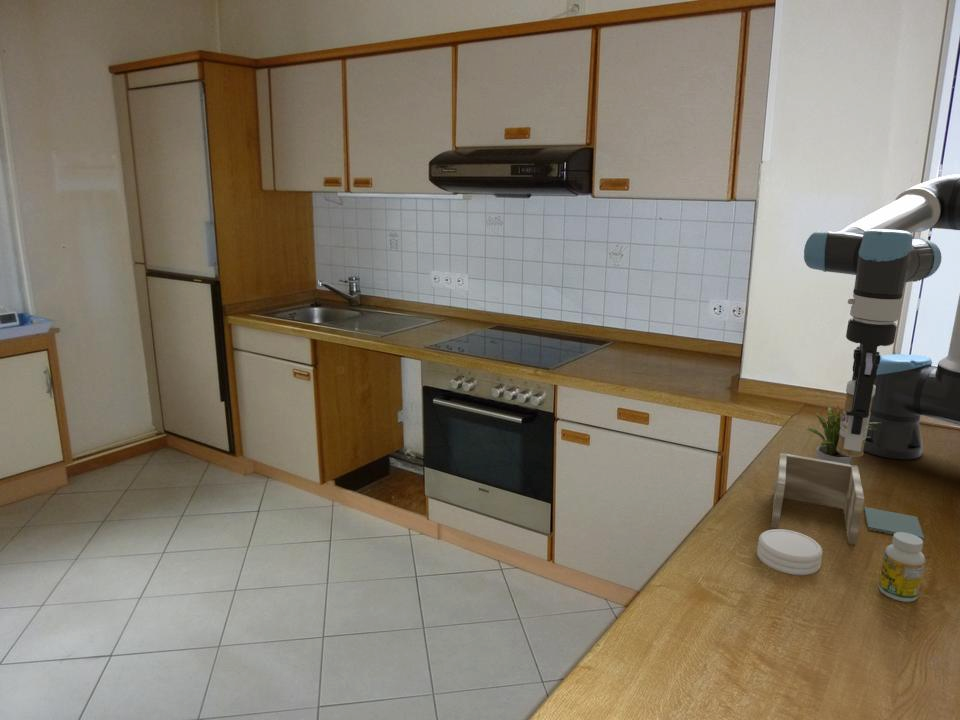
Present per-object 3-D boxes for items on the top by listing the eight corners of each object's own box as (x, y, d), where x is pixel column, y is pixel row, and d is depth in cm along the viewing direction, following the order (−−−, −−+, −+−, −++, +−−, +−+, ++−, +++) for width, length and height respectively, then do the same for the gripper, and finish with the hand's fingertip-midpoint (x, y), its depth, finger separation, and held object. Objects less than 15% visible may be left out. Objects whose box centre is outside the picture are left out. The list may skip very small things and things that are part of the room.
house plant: (854, 501, 143) (868, 425, 139) (785, 479, 152) (796, 407, 148) (875, 481, 153) (889, 409, 149) (809, 462, 162) (821, 394, 158)
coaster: (782, 541, 127) (785, 523, 126) (832, 568, 118) (836, 549, 117) (743, 553, 122) (746, 535, 121) (792, 582, 114) (796, 563, 113)
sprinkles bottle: (830, 448, 132) (842, 379, 128) (854, 448, 132) (866, 379, 128) (845, 458, 127) (857, 387, 124) (869, 457, 128) (882, 386, 124)
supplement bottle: (924, 603, 109) (936, 547, 106) (889, 602, 109) (901, 546, 106) (904, 583, 114) (915, 530, 111) (871, 582, 114) (881, 529, 111)
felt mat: (863, 509, 139) (864, 506, 139) (916, 519, 136) (917, 516, 136) (867, 529, 131) (868, 526, 131) (923, 540, 128) (924, 537, 128)
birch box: (774, 493, 145) (780, 452, 143) (850, 508, 140) (857, 465, 138) (771, 527, 131) (778, 482, 129) (855, 544, 126) (864, 498, 123)
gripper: (847, 309, 132) (828, 426, 138) (851, 327, 117) (829, 457, 123) (892, 313, 129) (871, 432, 135) (903, 332, 114) (878, 466, 120)
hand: (851, 444), depth 129 cm, fingers closed on sprinkles bottle, 4 cm apart
